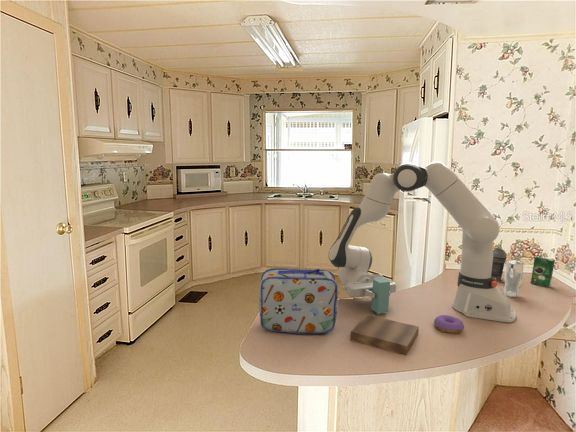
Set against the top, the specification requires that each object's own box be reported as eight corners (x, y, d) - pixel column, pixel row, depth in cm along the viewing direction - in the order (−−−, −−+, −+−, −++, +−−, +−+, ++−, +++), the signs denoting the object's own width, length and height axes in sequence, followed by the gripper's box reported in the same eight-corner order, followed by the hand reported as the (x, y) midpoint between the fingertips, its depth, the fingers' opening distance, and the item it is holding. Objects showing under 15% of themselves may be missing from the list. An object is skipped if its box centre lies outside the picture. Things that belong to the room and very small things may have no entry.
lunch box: (336, 323, 143) (339, 263, 140) (340, 336, 133) (344, 272, 130) (259, 322, 143) (260, 262, 139) (257, 335, 133) (258, 271, 129)
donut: (428, 327, 141) (431, 314, 141) (438, 325, 148) (441, 312, 148) (457, 337, 134) (460, 323, 134) (466, 334, 141) (469, 320, 141)
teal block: (381, 307, 156) (383, 278, 154) (388, 312, 152) (390, 281, 150) (371, 309, 155) (373, 279, 153) (377, 313, 151) (379, 282, 149)
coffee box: (551, 286, 189) (555, 259, 187) (549, 287, 187) (553, 260, 185) (532, 282, 195) (535, 255, 193) (530, 283, 193) (533, 256, 191)
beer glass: (522, 298, 172) (526, 264, 170) (504, 297, 173) (508, 263, 171) (516, 293, 179) (520, 260, 177) (499, 291, 180) (503, 259, 178)
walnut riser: (418, 334, 136) (418, 326, 135) (406, 355, 122) (407, 346, 122) (366, 322, 145) (367, 314, 144) (350, 340, 131) (350, 331, 130)
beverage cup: (498, 277, 201) (503, 237, 198) (507, 281, 194) (512, 241, 191) (484, 276, 201) (488, 237, 198) (492, 281, 194) (497, 241, 190)
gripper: (340, 278, 160) (358, 289, 147) (384, 273, 167) (405, 284, 154) (339, 293, 161) (357, 306, 148) (383, 288, 168) (403, 300, 155)
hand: (381, 295), depth 151 cm, fingers closed on teal block, 4 cm apart
